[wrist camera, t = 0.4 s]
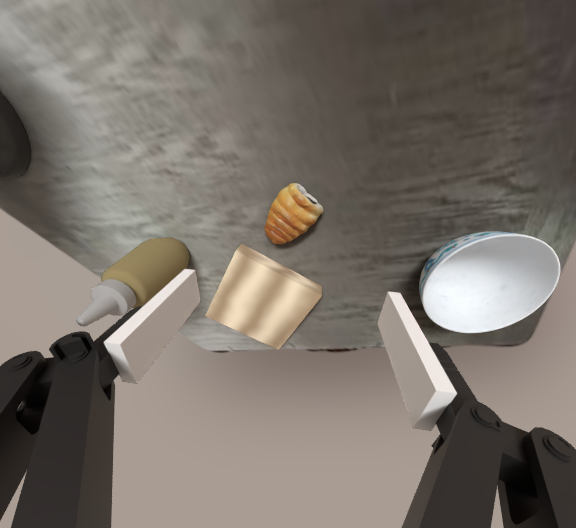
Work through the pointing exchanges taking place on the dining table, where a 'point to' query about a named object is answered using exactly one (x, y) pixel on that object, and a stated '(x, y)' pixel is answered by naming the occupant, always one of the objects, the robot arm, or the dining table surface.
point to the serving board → (262, 298)
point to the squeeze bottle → (136, 278)
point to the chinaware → (487, 281)
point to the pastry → (291, 214)
